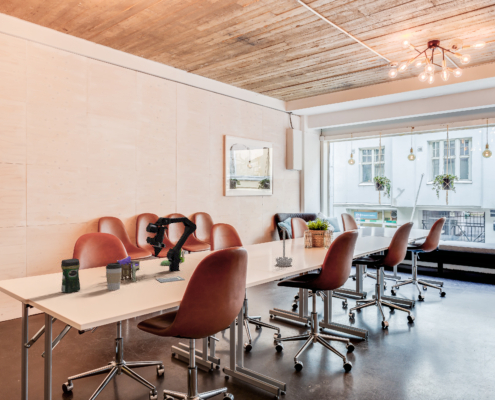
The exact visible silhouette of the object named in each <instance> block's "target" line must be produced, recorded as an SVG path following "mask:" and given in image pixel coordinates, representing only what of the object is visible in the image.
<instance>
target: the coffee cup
mask: <svg viewBox="0 0 495 400" xmlns="http://www.w3.org/2000/svg"><path fill="white" fill-rule="evenodd" d="M121 268H122V267H121V265H120V263H118V262H117V261H116V262H112V263H107V264H106V265H105V278H106V284H107V290H108V291H117V290H120V289H121V281H122V280H121Z"/></svg>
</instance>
